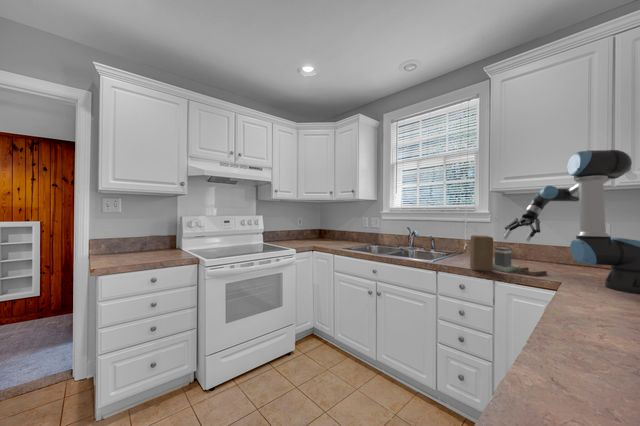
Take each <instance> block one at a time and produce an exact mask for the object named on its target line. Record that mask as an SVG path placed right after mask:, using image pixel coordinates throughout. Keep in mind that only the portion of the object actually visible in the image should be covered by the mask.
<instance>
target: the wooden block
mask: <svg viewBox="0 0 640 426" xmlns="http://www.w3.org/2000/svg"><path fill="white" fill-rule="evenodd" d="M469 252H470V253H469V254H470V255H469V256H470V257H469V258H470V261H469V264H470V265H469V266H470V268H471V269H472V270H473V271H475V272H476V271H477V272H478V271H479V272H489V273H490V272H492V271H493V270H494V269H493V263H494V262H493V261H494V238H493V237H492V236H489V235H474V234H473V235H471V236H470V251H469Z"/></svg>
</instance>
